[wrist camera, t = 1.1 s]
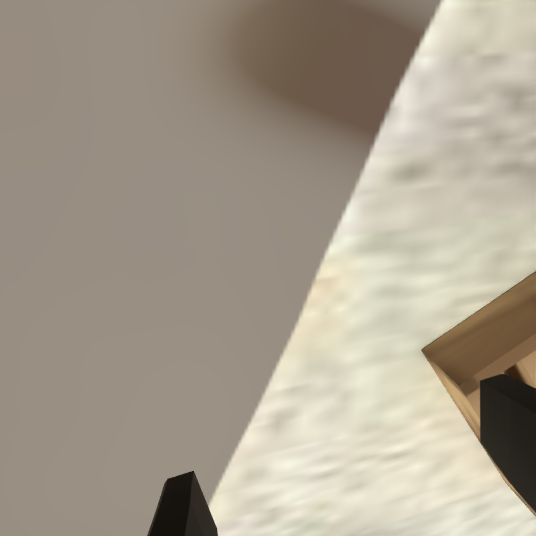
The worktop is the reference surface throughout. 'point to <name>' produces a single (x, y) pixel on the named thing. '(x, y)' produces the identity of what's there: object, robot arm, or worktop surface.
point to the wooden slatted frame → (488, 351)
